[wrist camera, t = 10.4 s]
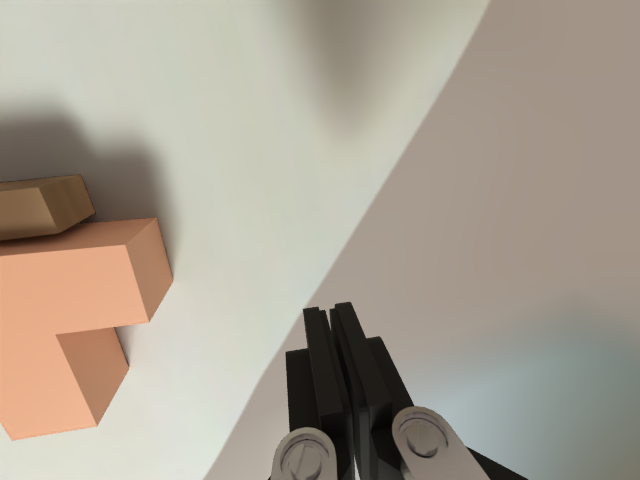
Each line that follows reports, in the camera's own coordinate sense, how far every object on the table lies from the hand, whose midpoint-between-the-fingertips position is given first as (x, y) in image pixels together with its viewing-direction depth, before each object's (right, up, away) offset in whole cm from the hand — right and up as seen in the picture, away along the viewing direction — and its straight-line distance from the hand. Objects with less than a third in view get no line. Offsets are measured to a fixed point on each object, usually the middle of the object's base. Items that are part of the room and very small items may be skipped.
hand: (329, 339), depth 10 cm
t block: (-15, -1, +7) cm, 16 cm away
